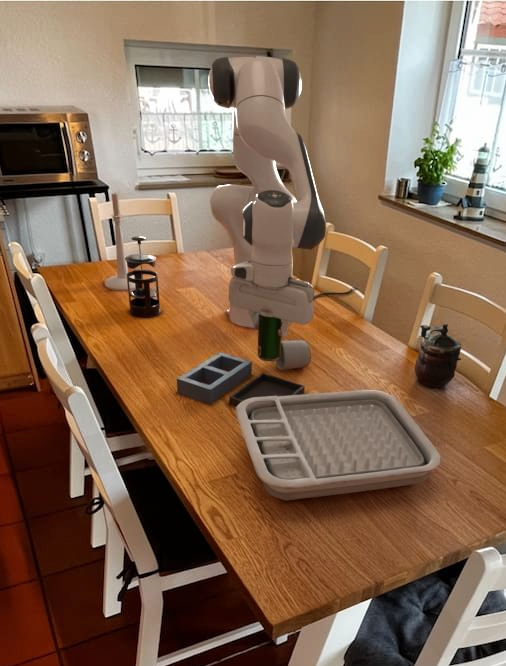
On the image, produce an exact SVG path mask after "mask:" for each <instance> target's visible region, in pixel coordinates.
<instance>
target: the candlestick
mask: <svg viewBox="0 0 506 666" xmlns="http://www.w3.org/2000/svg"><path fill="white" fill-rule="evenodd" d="M111 201H112V211H113V214H111V217H112V218H113V219H112V221H113V222H114V224H115V226H114V229H115V231H114V232H115V250H116V268H117V269H116V271H117V274H116V275H112V276H109V277H107V279H106V280H105V281H104V287H106V288H107V289H109V290H113V291H125V292H126V291H128V284H127V273H129V269H128V268H129V267H127V262H126V261H125V257H127V256H126V248H125V243H124V241H125V240H124V234H123V229H122V228H123V227H122V225H121V224H122V221H123V220H122V217H123V216H124V215H123V214H121V210H120V199H119V193H117V192H113V193H111ZM130 278H133V279H135V278H134V275H133V276H130ZM129 286H130V291H131V290H133V289H136V288H135V283H132V282H129Z"/></svg>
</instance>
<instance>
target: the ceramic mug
mask: <svg viewBox="0 0 506 666" xmlns="http://www.w3.org/2000/svg"><path fill="white" fill-rule="evenodd" d="M311 362H312V348H311V346H310V344H309V343H308V342H307V341H306V340H302V339H301V340H299V339H298V340H281V355H280V357H279V359H278V360H276V361H275V364H276V367H277V368H278V370H280V371H286V370H293V369H294V370H295V369H301V368H306V367H308V366H309V365H310V363H311Z"/></svg>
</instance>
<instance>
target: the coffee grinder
mask: <svg viewBox="0 0 506 666" xmlns="http://www.w3.org/2000/svg"><path fill="white" fill-rule="evenodd" d="M448 326H449V323H447V322H444V323H443V324H442V326H433V327H431V326H429V325H427V324H421V325H419V327H420V328H421V332H420V337H421V338H422V339H421V340H420V349H419V353H418V355H417V358H416V361H415V364H414V373H415V376H416V378H417V380H418V382H419V383H420V384H422V385H426V387H428V388H429V389H430V388H431V389H432V388H439V389H441V388H445V386H446V385H448V384H449V382H450V381H452V380H453V379H454V378H455V375H456V374H455V373H456V369H457V367H458V366H457V364H458V361H461V360H462V358H461V357H460V353H461V350H462V343H461V342H460V341H459V339H457V338H455V337H453V336H451V335H450V334H448V332H449V329H448ZM433 332H436V333H433ZM437 332H438V333H437Z"/></svg>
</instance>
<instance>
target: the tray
mask: <svg viewBox="0 0 506 666" xmlns="http://www.w3.org/2000/svg"><path fill="white" fill-rule="evenodd" d="M305 386H306V385H304V384H300V383H297V382H295V381H291V380H288V379H285V378H282V377H279V376H274V375H272V374H268V373H266V372H261V373H260V374H259V375H257V376H256V377H254V378H253V379H252V380H250V381H249V382H248V383H247V384H245V385H244V386H242V387H240V389H238V390H237V391H235V392H234V393H233V394H231V395H230V396H228V404H229V406H232V407H235V408H236V407H237V406H238V405H239V403H241V402H242V401H244V400H246V399H249V398H254V397H267V396H278V397H280V396H291V395H304V394H305V388H306V387H305Z"/></svg>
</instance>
